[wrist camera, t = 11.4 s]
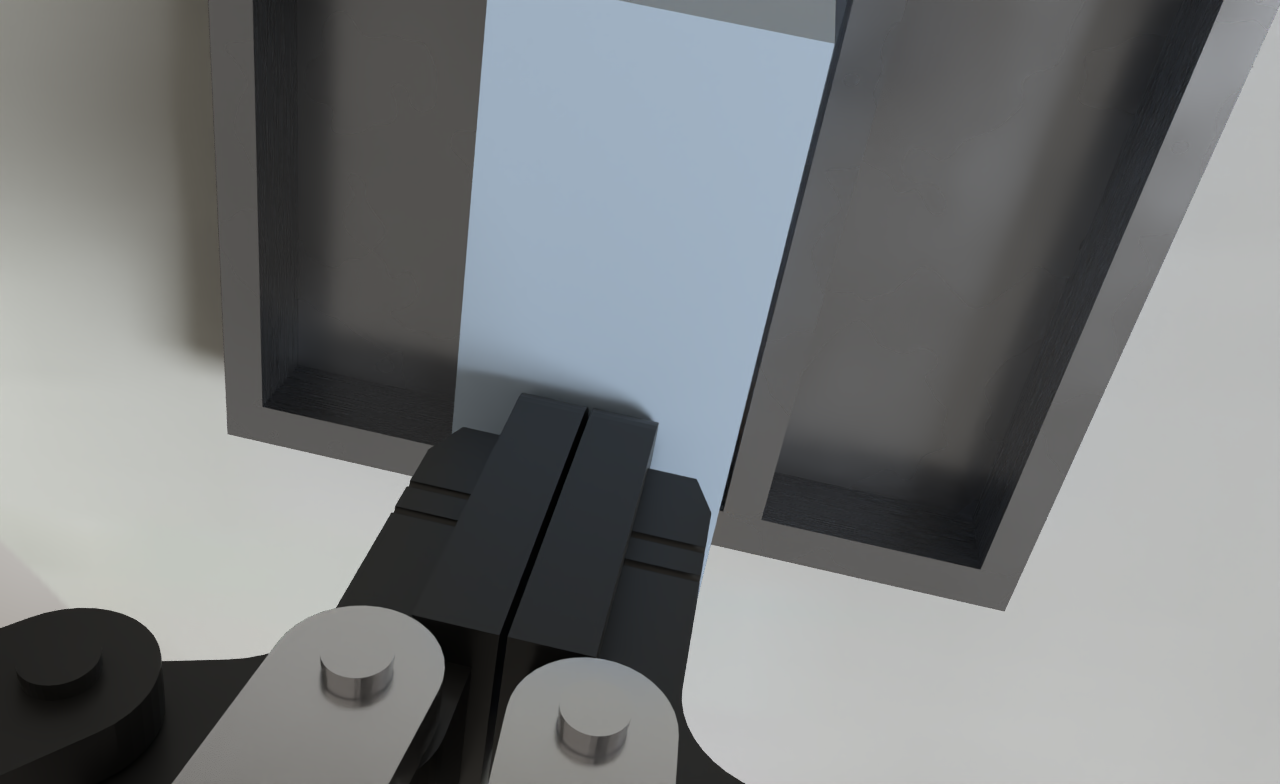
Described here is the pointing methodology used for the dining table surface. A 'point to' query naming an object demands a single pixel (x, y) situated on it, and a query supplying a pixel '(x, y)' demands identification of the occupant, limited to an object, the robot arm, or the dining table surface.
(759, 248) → the panel
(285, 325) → the rack
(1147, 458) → the dining table surface
